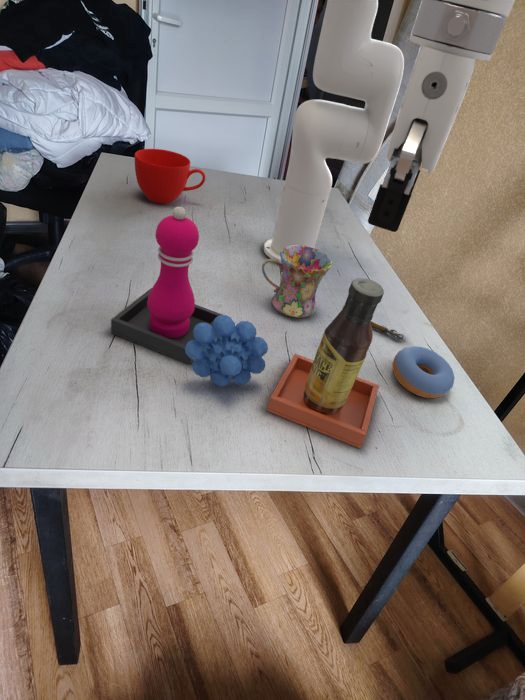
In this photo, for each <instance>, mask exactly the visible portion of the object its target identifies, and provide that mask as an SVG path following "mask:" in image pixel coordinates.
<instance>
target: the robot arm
mask: <svg viewBox="0 0 525 700" xmlns="http://www.w3.org/2000/svg"><path fill="white" fill-rule="evenodd" d="M515 2H516V0H421V2H420V3H419V4H420V5H419V7H418V10H417V13H416V16H415V20H414V22H413V25H412V29H411V32H410V35H409V37H408V38H409V39H408V42H411V43H413V44H415V45H419V46H420V47H419V49H418V53H417V56H416V58H415V61H414V64H413V67H412V69H411V73H410V76H409V78H408V82H407V85H406V88H405V92H404V94H403V98H402V100H401V104H400V106H399V110H398V113H397V117H396V120H395V124H394V127H393V130H392V134H391V138H390V140H389V145H388V149H387V152H386V158H387V160H388V162H389V166H388V168H387V172H386V173H385V176H384V178H383V181H382V183H381V184H379V187H378V190H377V193H376V195H375V198H374V201H373V204H372V207H371V210H370V213H369V216H368V218H367V223H368V224H369V225H371V226H374V227H377V228H381V229H383V230H387V231H389V232H392V233H396V232H398V230H399V229H400V225H401V223H402V221H403V219H404V215H405V213H406V211H407V207H408V205H409V203H410V200H411V197H412V195H413V191H414V188H415V186H416V183H417V180H418V178H419V175H420V173H421V170H420V168H422V169H425V170H426V172H425V173H426V174H428V175H429V174H432V173H433V172H435V169H436V167H437V166H438V165H437V164H438V162H439V159H440V157H441V155H442V152H443V150H444V147H445V145H446V143H447V139H448V138H449V135H450V132H451V130H452V128H453V126H454V123H455V120H456V118H457V116H458V113H459V110H460V108H461V106H462V104H463V101H464V98H465V95H466V93H467V91H468V88H469V85H470V82H471V79H472V76H473V73H474V69H475V66H476V64H477V60H478V61H482V62H491V59H492V56H493V54H494V51H495V49H496V47H497V44H498V42H499V40H500V37H501V35H502V33H503V31H504V28H505V25H506V23H507V20H508V18H509V16H510V14H511V11H512V10H513V6H514V4H515ZM378 8H379V0H327V1H326V8H325V11H324V16H323V21H322V25H321V30H320V34H319V38H318V44H317V47H316V53H315V57H314V61H313V62H314V63H313V69H312V81H313V84H314V86H315V87H317V89H319V90H321V91H323V92H326V93H329V94H333V95H337V96H341V97H346V98H350V99H355V100H359V101H363V102H364V103H365V108H362V107H357V106H354V105H353V106H351V105H349V104H348V105H347V104H345V103H340V102H336V101H330V100H325V99H309V100H305V101H303V102H302V103H300V105H298V107H297V108H296V111H295V113H294V117H293V123H292V133H291V146H290V154H289V161H288V166H287V171H286V175H285V179H284V180H285V181H284V186H283V190H282V193H281V198H280V204H279V208H278V212H277V216H276V222H275V227H274V230H273V236H272V238H270V239H268V240H266V241H265V242H264V244H263V253H264V254H265V255H266V256H267V257H268V259H275V260H277V261H279V262H280V264H281V265H282V261H281V256H280V252H281V250H282V249H283V248H284V247H286V246H290V245H302V246H307V247H311V248H314V249H316V243H317V240H318V237H319V233H320V230H321V227H322V223H323V219H324V215H325V212H326V209H327V208H326V207H327V204H328V201H329V197H330V195H331V191H332V186H333V176H332V173H331V170H330V169H329V166H328V165H327V162H326V159H336V160H341V161H345V162H346V161H347V162H351V163H356V164H369V163H371V162H372V161H374V159H375V158H376V157H377V155H378V154H379V151H380V149H381V147H382V144H383V142H384V138H385V135H386V132H387V129H388V125H389V123H390V119H391V117H392V116H391V115H392V113H393V110H394V106H395V103H396V100H397V98H398V94H399V91H400V87H401V84H402V80H403V75H404V68H405V58H404V54H403V51H402V50H401V48H399V47H398V46H397V45H395V44H393V43H390V42H387V41H383V40H378V39H374V38H372V32H373V28H374V24H375V19H376V16H377V13H378Z"/></svg>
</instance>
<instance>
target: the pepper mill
mask: <svg viewBox="0 0 525 700" xmlns="http://www.w3.org/2000/svg"><path fill="white" fill-rule="evenodd" d="M186 215H187V211H186V209H185V208H184V207H183V206H176V207H175V208H173V210H172V215H168V216H166V217H163V218H162V219H161V220H160V221H159V222H158V224H157V226H156V229H155V240H156V242H157V244H158V246H159V247H158V249H157V251H158V254H157V259H158V260H159V261H160V271H159V275H158V278H157V279H156V281H155V282H154V284H153V286H152V287H151V288H152V289H151V288H150V289H151V291H150V293H149V296H148V302H147V306H148V309H149V311H150V313H151V315H150V323H149V326H150V329H151V330H152V331H153V332H154V333H156V334H158V335H161V336H163V337H166V338H178V337H181V336H183V335H185V334H186V333H187V332H188V330H189V324H190V318H189V317H190V316H191V315H192V314H193V312H194V309H195V304H196V300H195V294H194V292H193V288H192V286H191V283H190V279H189V268H190V265H191V264H192V263H193V261H194V250H195V249H196V248H197V246H198V244H199V241H200V232H199V228H198V227H197V224H196V223H194V221H193V220H192V219H190V218H188V217H187V216H186Z"/></svg>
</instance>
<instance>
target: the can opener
mask: <svg viewBox="0 0 525 700" xmlns="http://www.w3.org/2000/svg"><path fill="white" fill-rule="evenodd" d="M370 323H371V325H372V330H373V329H374V330H376V331H379V332H381V333H382V334H383V333H384V334H388V335H389V337H391V339H393V340H395V341H398V342H406V340H405V339H403V338H404V334H402V333H398V332H397V330H395V329H390V330H389V328H387V327H386V326H383V325H380V324H378V323H375V322H374V321H372V320H371V322H370Z"/></svg>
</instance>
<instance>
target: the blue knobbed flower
mask: <svg viewBox="0 0 525 700" xmlns="http://www.w3.org/2000/svg"><path fill="white" fill-rule="evenodd" d="M193 335H194V338H195V339H196V340H190V341H189V342H187V344H186V346H185V352H186V354H187V355H188V357H189V358H191V359H193V360H194V361H193V362H192V363H191V367H192V371H193V372H194V374H195V375H196V376H198V377H201V378H210V381H211V382H212V383H213V384H214V385H215V386H217V387H222V388H223V387H226V386H228V385H229V384H230V382H231V381H233V382H234V384H236V385H238V386H246V385H247V384H248V383H250V381H251V379H252V374H253V375H259V374H261V373H262V372H264V371H265V369H266V361H265V359H264V358H263V356H265V355H266V354H267V353H268V350H269V345H268V343H267V341H266V340H265V339H264V338H263V337H262V336H261V337H260V336H257V329H256V327H255V325H254V324H253V323H252V322H250V321H248V320H241V321H239V322H238V323H237V324H236V322H235V321H234V320H233V319H232V317H231V316H229V315H226V314H223V315H219V316H218V317H216V318H215V320H214V322H213V327H212V326H211V325H210V324H208V323H198V324H197V325H196V326H195V327H194V330H193Z"/></svg>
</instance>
